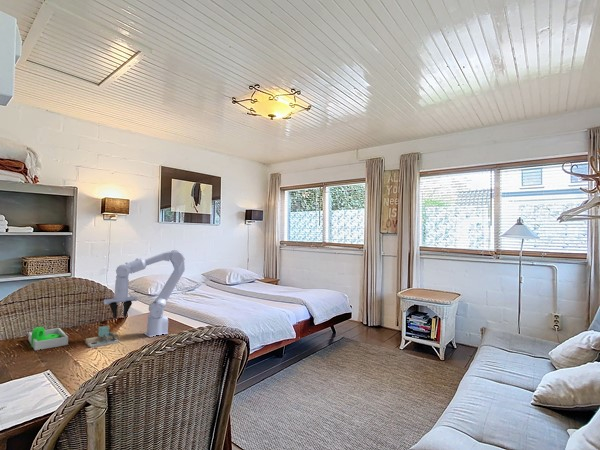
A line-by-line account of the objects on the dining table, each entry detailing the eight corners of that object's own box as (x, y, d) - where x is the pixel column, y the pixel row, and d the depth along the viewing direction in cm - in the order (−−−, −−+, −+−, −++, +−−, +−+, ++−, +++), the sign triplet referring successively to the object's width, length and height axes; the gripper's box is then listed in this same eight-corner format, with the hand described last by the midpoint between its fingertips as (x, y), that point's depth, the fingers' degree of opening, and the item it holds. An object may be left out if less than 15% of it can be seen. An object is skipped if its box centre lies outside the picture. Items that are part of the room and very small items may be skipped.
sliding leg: (106, 335, 155) (106, 325, 155) (111, 339, 150) (111, 329, 151) (98, 337, 153) (98, 326, 153) (102, 341, 148) (103, 330, 148)
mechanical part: (46, 347, 141) (46, 329, 141) (31, 347, 141) (31, 329, 141) (62, 338, 153) (63, 321, 153) (49, 338, 153) (49, 321, 153)
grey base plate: (115, 337, 158) (116, 331, 158) (120, 340, 153) (121, 334, 154) (84, 342, 149) (85, 336, 149) (89, 346, 144) (89, 339, 144)
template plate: (115, 339, 154) (115, 337, 154) (118, 342, 151) (119, 340, 151) (87, 345, 146) (87, 342, 146) (90, 348, 142) (90, 345, 142)
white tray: (59, 335, 157) (59, 327, 157) (67, 344, 145) (68, 336, 145) (28, 340, 149) (28, 332, 149) (34, 350, 137) (35, 342, 137)
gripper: (134, 286, 166) (132, 313, 166) (102, 289, 156) (100, 317, 155) (139, 288, 162) (137, 316, 161) (107, 291, 151) (105, 320, 151)
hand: (119, 317), depth 158 cm, fingers open, 4 cm apart
